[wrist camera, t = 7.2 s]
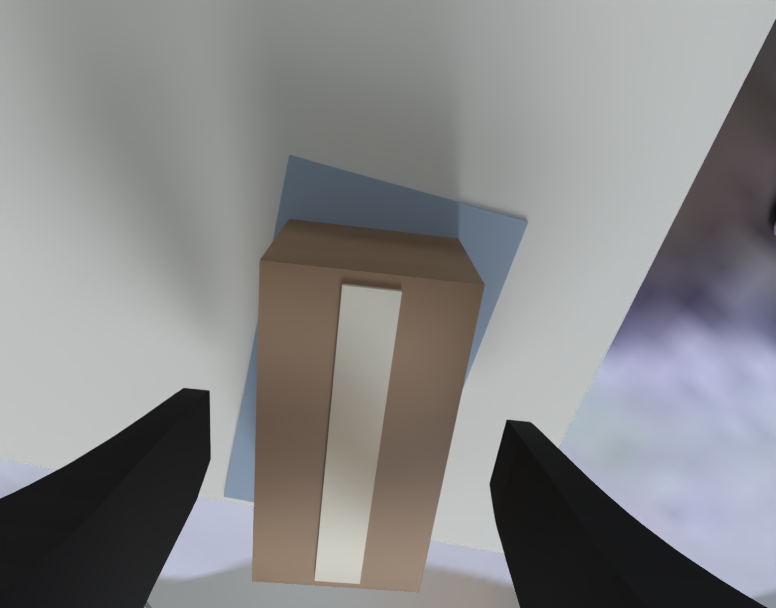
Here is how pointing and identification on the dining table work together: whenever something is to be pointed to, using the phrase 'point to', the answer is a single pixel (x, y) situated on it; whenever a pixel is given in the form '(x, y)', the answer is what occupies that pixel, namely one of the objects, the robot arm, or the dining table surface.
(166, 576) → the dining table surface
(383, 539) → the cardboard box
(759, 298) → the dining table surface
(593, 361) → the mat
